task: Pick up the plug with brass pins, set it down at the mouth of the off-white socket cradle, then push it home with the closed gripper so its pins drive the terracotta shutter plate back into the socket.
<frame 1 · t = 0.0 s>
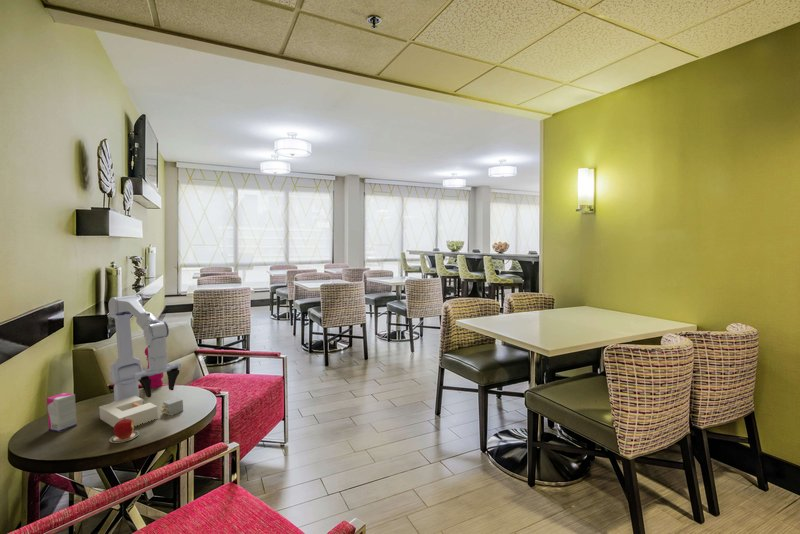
hand: (160, 393, 144), 10 cm above the table, fingers open, 7 cm apart
supplement box: (63, 428, 141), on the table
plug: (173, 412, 152), on the table
red rounded piece: (124, 438, 132), on the table
shutter: (137, 409, 149), point 2 cm above the table, slide at 0.0 cm
socket housing: (129, 418, 147), on the table
pepper mill: (154, 386, 180), on the table
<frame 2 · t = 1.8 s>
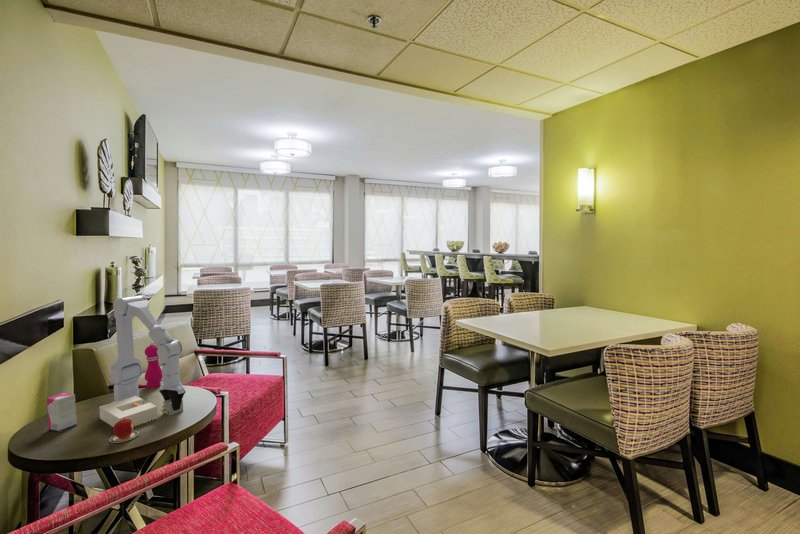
hand: (173, 408, 152), 1 cm above the table, fingers closed on plug, 4 cm apart
plug: (173, 411, 152), on the table, touching gripper
everything else where it was.
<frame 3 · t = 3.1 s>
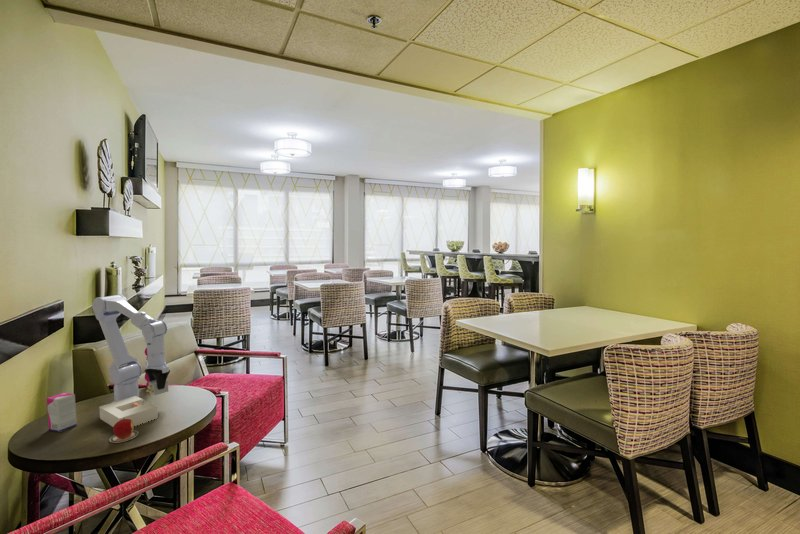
hand: (158, 387, 155), 8 cm above the table, fingers closed on plug, 4 cm apart
plug: (158, 392, 155), point 6 cm above the table, touching gripper
everything else where it was.
when the fingers open (2 cm above the table, at t = 4.7 s): plug stays where it is, on the table.
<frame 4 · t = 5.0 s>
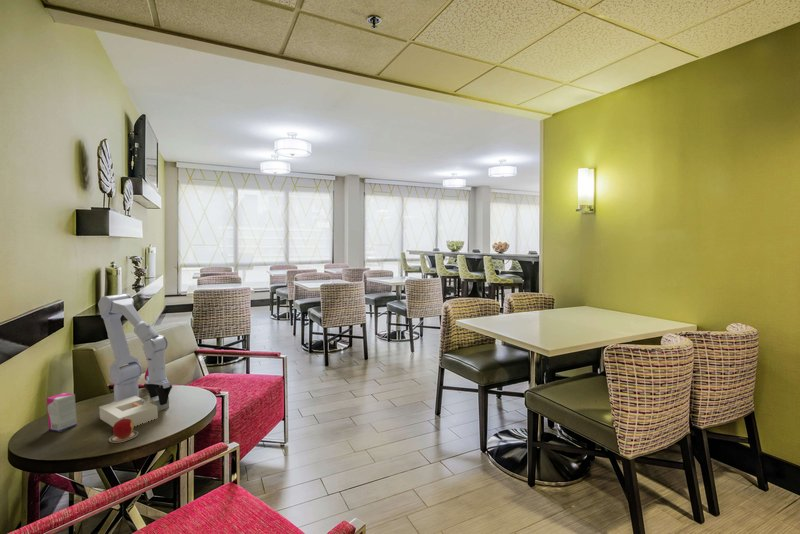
hand: (159, 402, 155), 2 cm above the table, fingers open, 7 cm apart
plug: (159, 408, 155), on the table
everything else where it was.
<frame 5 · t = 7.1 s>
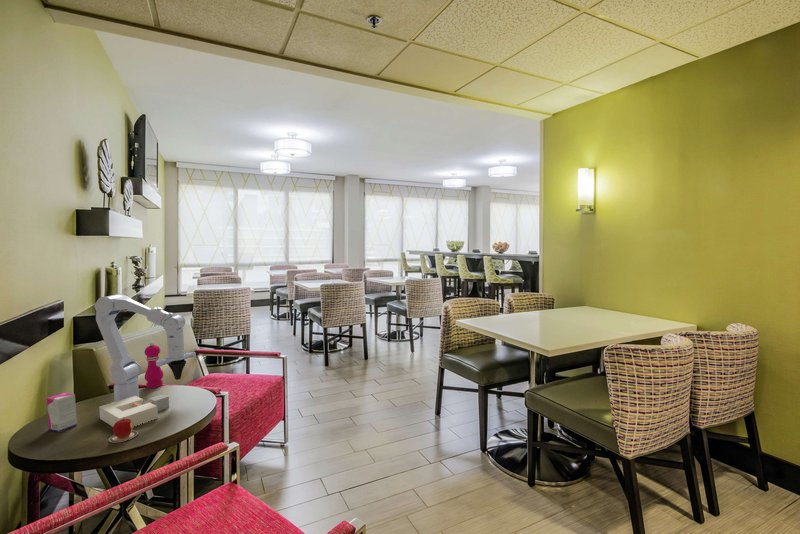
hand: (177, 378, 161), 9 cm above the table, fingers closed
nothing on the table moved.
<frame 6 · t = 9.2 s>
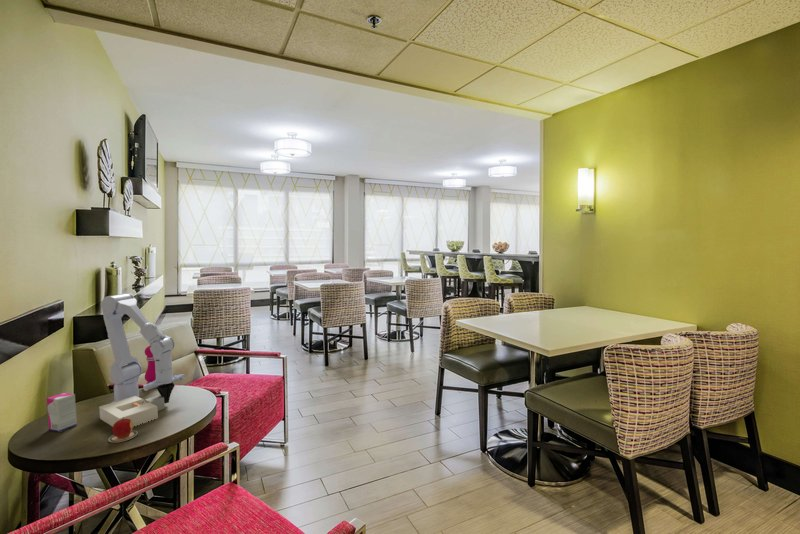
hand: (165, 402, 157), 1 cm above the table, fingers closed
plug: (155, 409, 154), on the table, touching gripper
everything else where it was.
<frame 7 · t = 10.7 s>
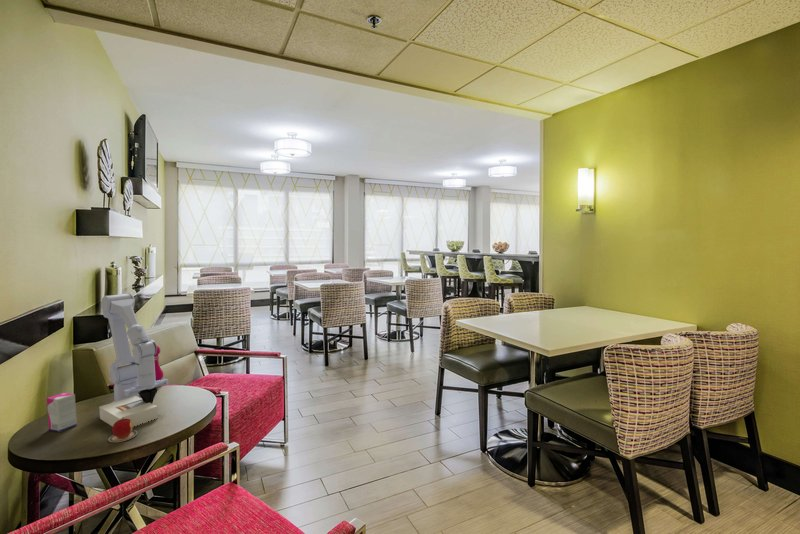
hand: (148, 408, 152), 1 cm above the table, fingers closed
plug: (137, 415, 149), resting in socket housing, touching gripper, shutter
shutter: (124, 413, 145), point 2 cm above the table, slide at 4.5 cm, touching plug
everything else where it was.
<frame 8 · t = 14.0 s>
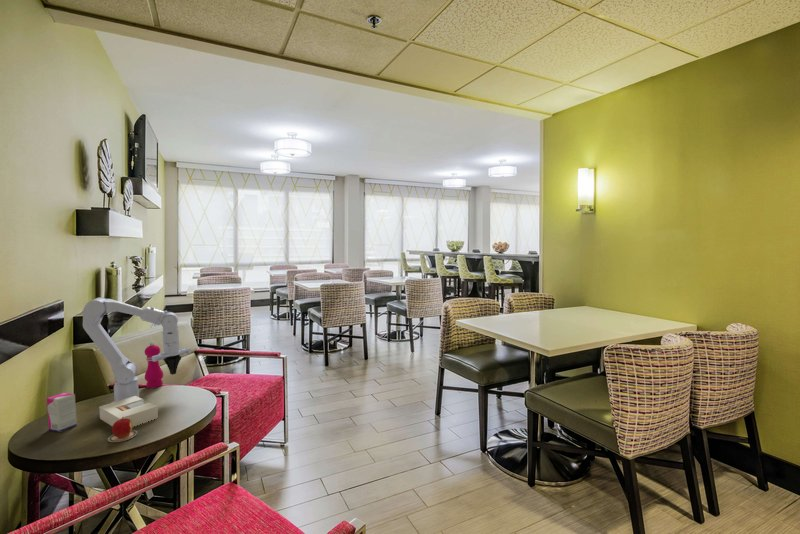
hand: (173, 373, 167), 9 cm above the table, fingers closed
plug: (137, 416, 149), resting in socket housing
shutter: (123, 413, 145), point 2 cm above the table, slide at 4.5 cm
everything else where it was.
at the end: plug 0.4 cm from the target spot on the socket housing, point 0.0 cm above the socket housing's base; shutter slide at 4.5 cm; plug tilted 0° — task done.
